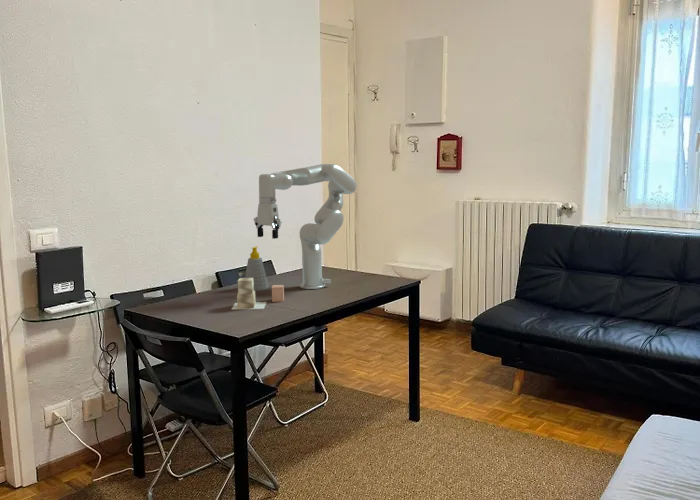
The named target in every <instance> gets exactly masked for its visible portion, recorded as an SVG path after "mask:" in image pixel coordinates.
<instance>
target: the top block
mask: <svg viewBox="0 0 700 500" xmlns="http://www.w3.org/2000/svg"><path fill="white" fill-rule="evenodd" d="M284 287H285V286H284V284H272V285H271V301H272V302H274V303H275V302H279V303H280V302H281V303H282V302H284V301H285V290H284V289H285V288H284Z"/></svg>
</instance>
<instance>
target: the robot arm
mask: <svg viewBox="0 0 700 500" xmlns="http://www.w3.org/2000/svg"><path fill="white" fill-rule="evenodd" d="M323 182H328V184H327V189H328V198H327V200H326V201H325V203H323V205H322V206H321V207H320V208H319V210H318V211H317V212H316V213H315V215H314V223H309V222H308V223H304V224H303V225H301V227H300V230H299V239H300V244H301V260H302V261H301V263H302V267H301V268H302V282H301V283H300V284H299V288H301V289H306V290H318V289H323V288H325V286H326V284H332V279H331V278H330V279H329V278H324V277H323V274H322V273H323V272H322V271H323V270H322V264H323V263H322V248H321V245H326V244H328V243H329V242H330V241H331V240H332V239H333V237H334V236H335V235H336V234H337V233H338V231H339V230H340V228H342V226H343V223H344V218H345V217H344V214H343V212H342V209H343V206H344V195H352V194H354V193H355V191H356V189H357V182H356V180H355V178H353V176H351V175H350V174H349V173H348V172H347V171H345V170H344V169H343V168H342V167H340V166H339V165H337V164H335V163H321V164H320V163H319V164H315V165H311V166H306V167H299V168H295V169H290V170H289V169H288V170H283V171H276V172H273V173H263V174H260V175H259V176H258V200H259V201H258V206H257V214H256V215H257V216H255V218H253V221H254V225H255V226H256V227H255V228H256V230H257V231H256V232H257V233H256V234H257V238H262V237H264V228H263V227H264V226H270V227H271V228H272V230H271V233H272V234H271V235H272V236H271V237H272V239H279V230H280V228H281V225H282V222H283V221H282V220H281V218H279V209H278V204H276V202H277V198H276V190H280V191H281V190H282V191H285V190H288V189H290V188H291V187H292V186H293V187H294V186H298V187H299V186H309V185H313V184H319V183H323Z"/></svg>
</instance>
